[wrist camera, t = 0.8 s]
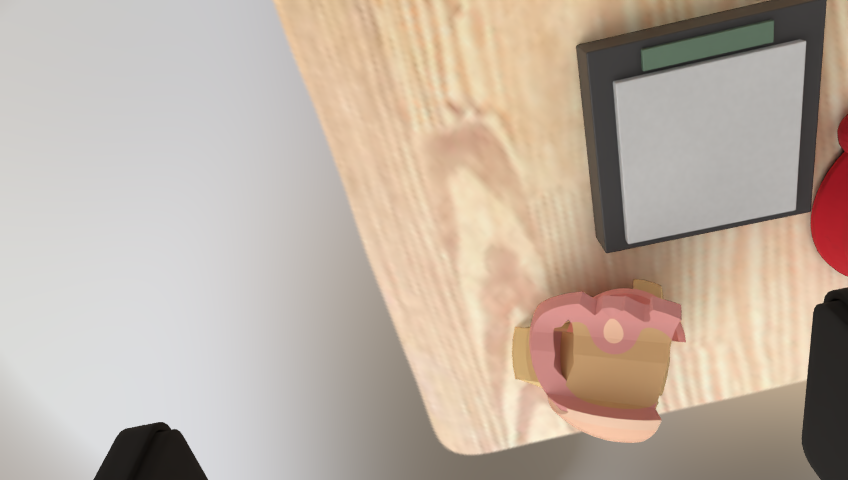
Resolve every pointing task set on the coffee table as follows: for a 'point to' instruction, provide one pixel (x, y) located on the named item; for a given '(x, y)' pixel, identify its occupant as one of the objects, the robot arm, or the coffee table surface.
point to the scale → (703, 122)
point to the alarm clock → (833, 209)
